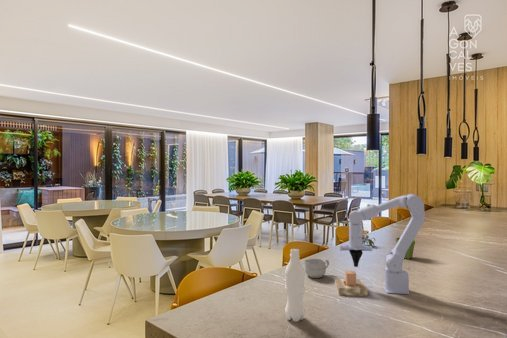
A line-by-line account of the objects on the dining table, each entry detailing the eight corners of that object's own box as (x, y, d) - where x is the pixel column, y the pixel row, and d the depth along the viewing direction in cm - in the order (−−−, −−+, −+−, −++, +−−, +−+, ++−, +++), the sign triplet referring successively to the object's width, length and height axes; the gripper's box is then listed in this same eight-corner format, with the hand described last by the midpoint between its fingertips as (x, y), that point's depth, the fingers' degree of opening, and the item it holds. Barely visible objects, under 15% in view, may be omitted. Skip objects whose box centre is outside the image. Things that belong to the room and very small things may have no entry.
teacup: (309, 280, 155) (309, 264, 155) (300, 273, 165) (300, 258, 165) (335, 278, 159) (335, 262, 159) (325, 271, 169) (325, 256, 169)
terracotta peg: (354, 288, 144) (354, 270, 144) (356, 291, 140) (356, 273, 140) (345, 288, 144) (345, 270, 144) (346, 291, 140) (346, 273, 140)
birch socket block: (361, 285, 148) (361, 279, 148) (367, 296, 136) (367, 289, 136) (335, 284, 149) (335, 278, 149) (338, 294, 137) (338, 287, 137)
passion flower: (360, 253, 224) (350, 238, 228) (369, 248, 230) (359, 234, 235) (371, 247, 216) (361, 232, 220) (380, 242, 222) (369, 227, 227)
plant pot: (411, 255, 200) (411, 237, 200) (419, 260, 188) (419, 241, 188) (392, 254, 201) (392, 237, 201) (398, 260, 190) (398, 241, 190)
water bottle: (302, 313, 119) (302, 247, 119) (306, 323, 112) (306, 252, 112) (283, 314, 119) (283, 247, 119) (286, 323, 112) (286, 252, 112)
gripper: (341, 238, 144) (341, 268, 144) (374, 238, 142) (374, 269, 142) (338, 235, 151) (338, 263, 151) (370, 235, 149) (370, 264, 149)
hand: (355, 266), depth 147 cm, fingers closed
